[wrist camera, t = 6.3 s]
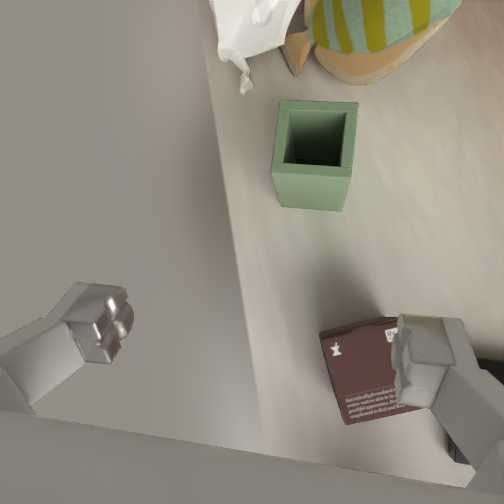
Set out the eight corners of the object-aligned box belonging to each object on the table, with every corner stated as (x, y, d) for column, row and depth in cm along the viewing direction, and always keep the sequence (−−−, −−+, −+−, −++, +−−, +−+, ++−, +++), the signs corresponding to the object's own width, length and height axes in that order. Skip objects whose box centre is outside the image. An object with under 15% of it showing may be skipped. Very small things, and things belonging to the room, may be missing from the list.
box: (336, 401, 32) (342, 427, 25) (317, 331, 33) (318, 337, 26) (408, 385, 32) (435, 408, 24) (386, 314, 33) (406, 316, 25)
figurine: (319, 93, 39) (212, 114, 42) (303, -57, 38) (196, -26, 41) (313, 62, 31) (184, 90, 34) (294, -126, 31) (163, -82, 33)
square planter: (347, 153, 35) (358, 102, 27) (341, 211, 35) (351, 178, 26) (288, 150, 36) (279, 99, 28) (281, 206, 36) (270, 172, 27)
